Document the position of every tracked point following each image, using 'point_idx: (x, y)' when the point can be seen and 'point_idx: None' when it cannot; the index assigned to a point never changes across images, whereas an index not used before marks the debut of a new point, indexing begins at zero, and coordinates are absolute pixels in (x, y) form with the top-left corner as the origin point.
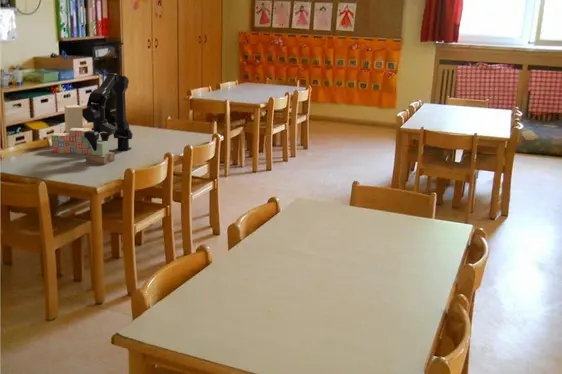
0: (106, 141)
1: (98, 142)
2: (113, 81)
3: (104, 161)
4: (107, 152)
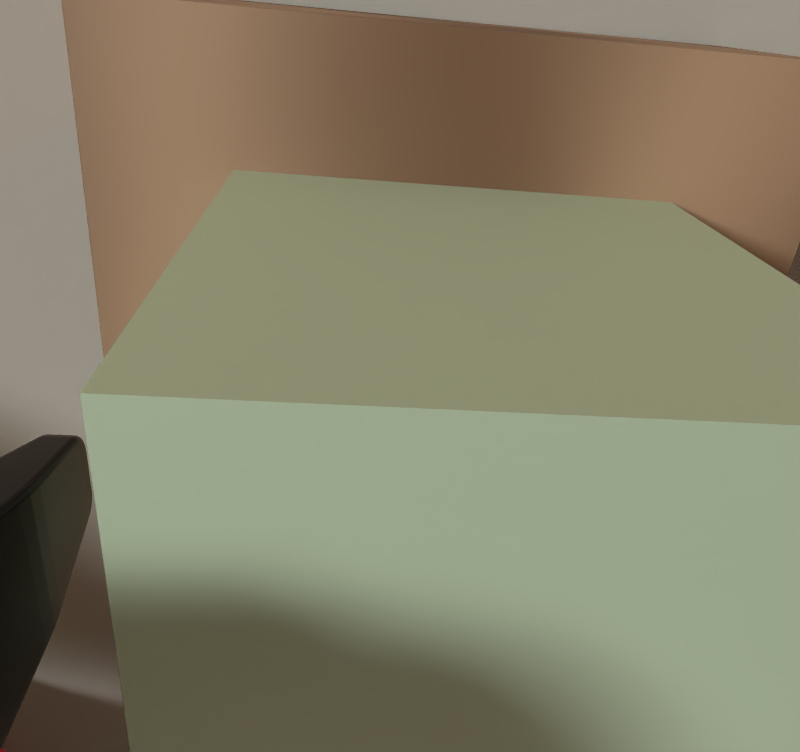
0: (219, 499)
1: (679, 735)
2: None
3: (757, 52)
4: (343, 188)
